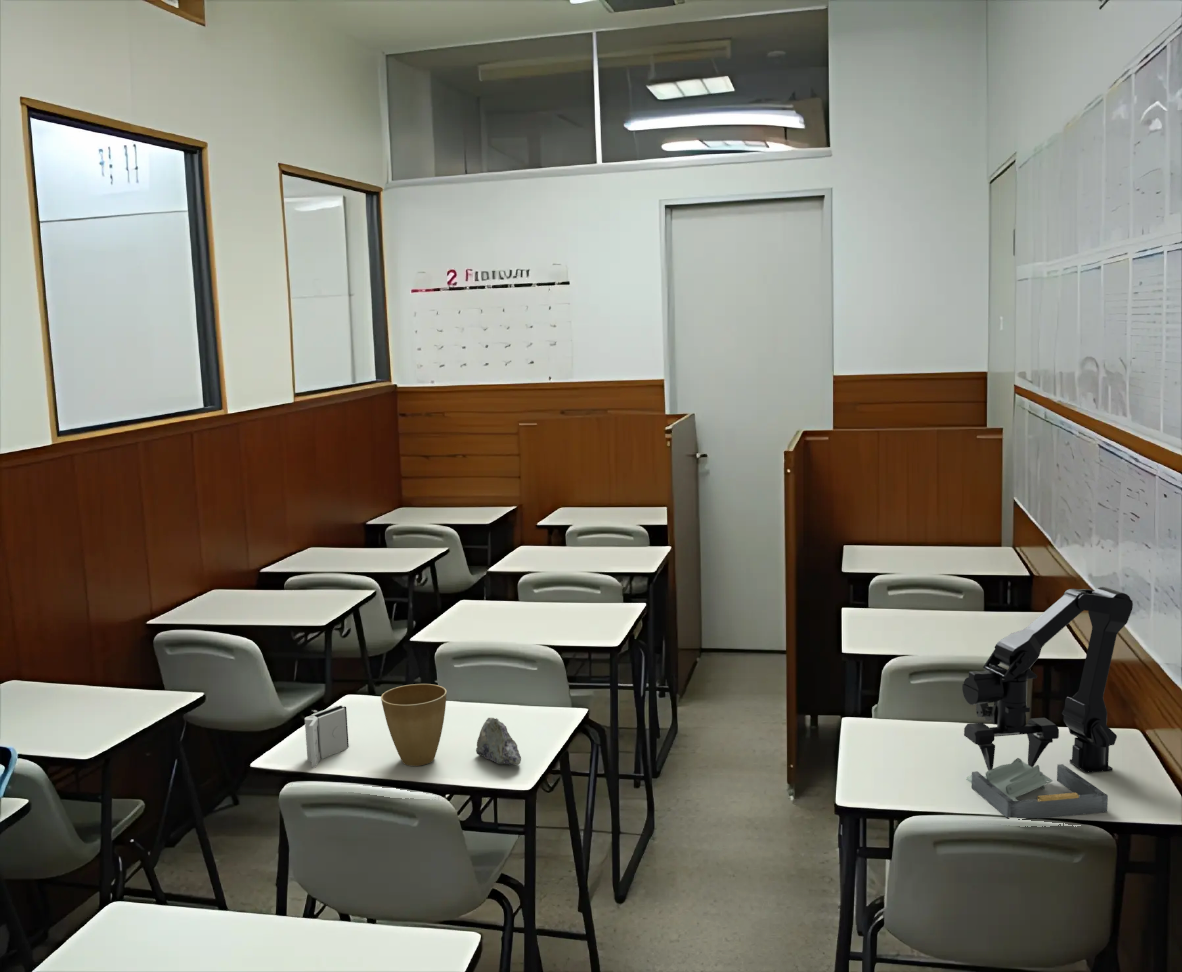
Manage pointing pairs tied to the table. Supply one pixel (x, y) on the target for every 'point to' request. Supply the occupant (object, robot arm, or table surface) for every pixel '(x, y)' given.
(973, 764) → the table surface
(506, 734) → the mineral rock
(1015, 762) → the metal bracket
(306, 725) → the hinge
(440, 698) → the plant pot
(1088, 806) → the rail dock
